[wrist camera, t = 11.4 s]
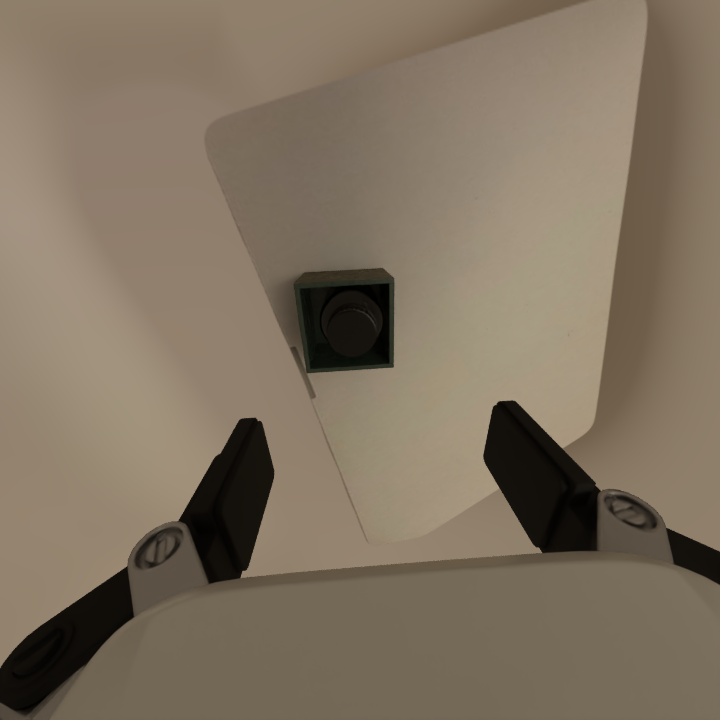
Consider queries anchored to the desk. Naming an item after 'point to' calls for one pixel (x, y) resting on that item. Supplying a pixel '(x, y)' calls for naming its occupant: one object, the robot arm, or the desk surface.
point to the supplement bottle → (351, 319)
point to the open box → (309, 306)
